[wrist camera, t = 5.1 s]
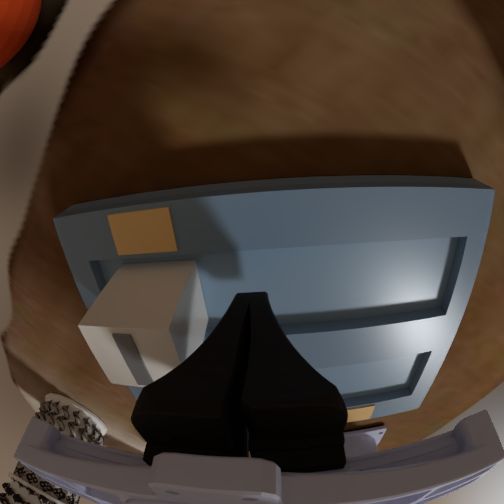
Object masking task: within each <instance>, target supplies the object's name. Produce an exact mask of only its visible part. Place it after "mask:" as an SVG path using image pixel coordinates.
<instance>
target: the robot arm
mask: <svg viewBox="0 0 504 504" xmlns="http://www.w3.org/2000/svg"><path fill="white" fill-rule="evenodd" d="M347 420H348V412H347V408H346V405H345V403H344V400H343V398H342V396H341V394H340V392H339V390H338V389H337V387H336V386H335V385H334V384H333V383H331V382H330V381H328V380H327V379H326V378H325V377H323V376H322V375H321V374H320V373H319V372H318V371H316V370H315V369H314V368H313V367H312V366H311V365H310V364H309V363H308V362H307V361H306V360H305V359H304V358H303V357H302V356H301V355H300V353H299V352H298V351H297V350H296V349H295V347H294V346H293V345H292V343H291V342H290V341H289V339H288V338H287V336H286V335H285V333H284V332H283V330H282V328H281V327H280V325H279V323H278V321H277V319H276V317H275V315H274V313H273V311H272V308H271V305H270V302H269V299H268V293H267V292H265V291H263V292H246V293H237V294H236V295H235V297H234V299H233V300H232V302H231V304H230V306H229V307H228V309H227V311H226V312H225V314H224V315H223V317H222V318H221V320H220V321H219V323H218V324H217V326H216V327H215V328H214V330H213V331H212V332H211V334H210V335H209V336H208V337H207V338H206V340H205V341H204V342H203V343H202V344H201V345H200V346H199V347H198V348H197V349H196V350H195V351H194V352H193V353H192V354H191V355H190V356H189V357H188V358H187V359H186V360H184V361H183V362H182V363H181V364H180V365H178V366H177V367H176V368H174V369H173V370H171V371H170V372H169V373H167V374H166V375H164V376H162V377H161V378H159V379H157V380H156V381H154V382H152V383H150V384H149V385H147V386H145V387H143V389H142V391H141V393H140V395H139V397H138V399H137V401H136V404H135V407H134V410H133V413H132V416H131V422H132V424H133V426H134V427H135V429H136V430H137V431H138V432H139V434H140V435H141V436H142V437H143V438H144V440H145V441H146V442H147V444H146V448H145V452H144V455H140V454H135V453H130V452H126V451H121V450H117V449H112V448H108V447H104V446H100V445H97V444H93V443H90V442H86V441H83V440H79V439H76V438H73V437H70V436H67V435H64V434H61V433H60V431H59V430H58V429H57V428H56V427H55V426H53V425H52V424H50V423H48V422H46V421H43V420H41V419H38V418H35V417H32V418H31V420H30V423H29V424H28V426H27V429H26V431H25V433H24V435H23V437H22V439H21V441H20V443H19V445H18V448H17V450H16V452H15V454H14V457H15V458H16V459H17V460H18V461H19V462H21V463H22V464H23V465H25V466H26V467H27V468H29V469H30V470H31V471H33V472H34V473H35V474H37V475H38V476H40V477H41V478H43V479H44V480H46V481H47V482H49V483H52V484H54V485H56V486H58V487H60V488H62V489H64V490H67V491H69V492H71V493H73V494H76V495H78V496H80V497H82V498H85V499H87V500H90V501H92V502H95V503H97V504H425V503H427V502H430V501H432V500H435V499H437V498H440V497H442V496H444V495H447V494H449V493H451V492H454V491H456V490H458V489H460V488H462V487H465V486H467V485H469V484H471V483H473V482H475V481H476V480H478V479H479V478H480V477H482V476H483V475H484V474H486V473H487V472H488V471H490V470H491V469H492V468H493V467H495V466H496V465H497V464H498V463H500V462H501V461H502V460H503V459H504V450H503V447H502V445H501V442H500V440H499V437H498V435H497V432H496V430H495V428H494V425H493V423H492V421H491V418H490V416H489V414H488V412H487V410H483V411H481V412H478V413H476V414H473V415H471V416H468V417H466V418H464V419H463V420H461V421H460V422H459V423H458V424H457V425H456V426H455V428H454V430H452V431H449V432H446V433H443V434H441V435H438V436H435V437H432V438H429V439H425V440H422V441H418V442H415V443H411V444H408V445H404V446H400V447H396V448H392V449H388V450H383V451H379V452H378V449H377V445H378V443H379V442H380V440H381V438H382V437H383V435H384V433H385V431H386V430H387V428H386V426H378V427H373V428H368V429H362V430H356V431H350V432H344V430H345V427H346V424H347ZM249 451H250V454H251V458H249Z"/></svg>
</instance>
